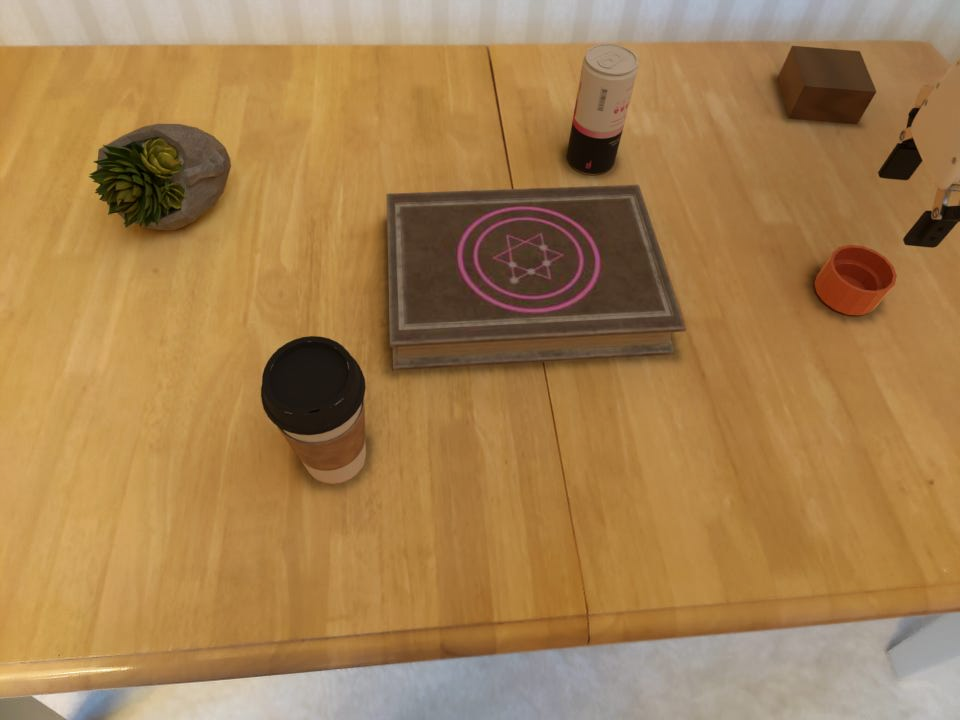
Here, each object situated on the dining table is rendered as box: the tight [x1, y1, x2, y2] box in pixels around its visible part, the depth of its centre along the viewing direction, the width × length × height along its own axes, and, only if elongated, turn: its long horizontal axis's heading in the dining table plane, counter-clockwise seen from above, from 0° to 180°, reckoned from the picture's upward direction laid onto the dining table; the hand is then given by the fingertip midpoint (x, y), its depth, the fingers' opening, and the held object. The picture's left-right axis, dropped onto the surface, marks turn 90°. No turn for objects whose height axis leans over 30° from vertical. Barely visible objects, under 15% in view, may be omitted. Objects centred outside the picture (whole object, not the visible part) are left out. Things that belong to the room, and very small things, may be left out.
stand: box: [777, 45, 877, 125], centre depth 98 cm, size 10×10×6 cm
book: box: [386, 184, 687, 372], centre depth 76 cm, size 30×22×5 cm
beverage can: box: [566, 42, 639, 176], centre depth 84 cm, size 6×7×15 cm
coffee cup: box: [260, 335, 367, 485], centre depth 59 cm, size 8×8×15 cm
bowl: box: [814, 244, 898, 316], centre depth 77 cm, size 7×7×4 cm
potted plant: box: [88, 123, 232, 231], centre depth 77 cm, size 12×13×15 cm
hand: (904, 209), depth 68 cm, fingers open, 9 cm apart
